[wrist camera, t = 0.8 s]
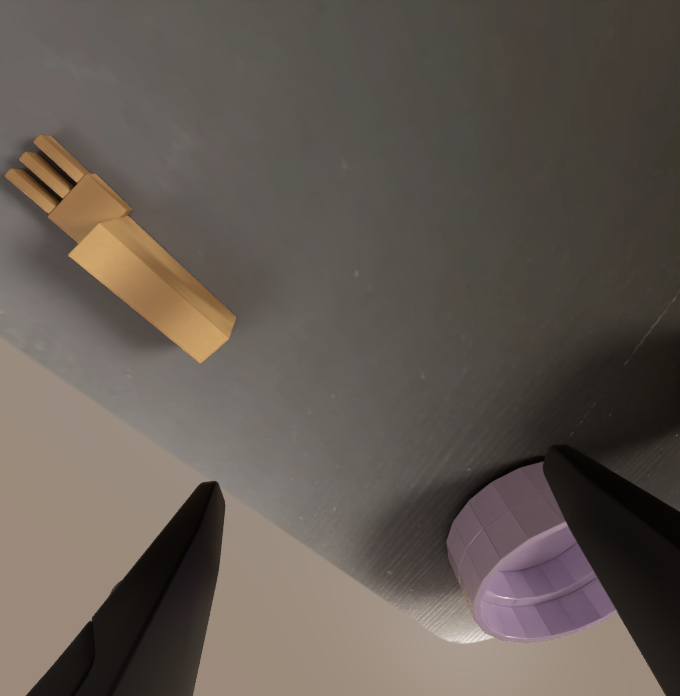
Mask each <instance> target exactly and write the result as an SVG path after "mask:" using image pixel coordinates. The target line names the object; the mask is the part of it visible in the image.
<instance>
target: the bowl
mask: <svg viewBox="0 0 680 696" xmlns="http://www.w3.org/2000/svg"><path fill="white" fill-rule="evenodd" d="M543 462H544V461H543ZM543 462H539V463H536V464H532V465H528V466H524V467H521V468H518V469H516V470H514V471H512V472H510V473H508V474H506V475H504V476H502V477H500V478H498V479H496V480H495V481H493V482H491V483H490V484H488V485H487V486H486V487H485V488H484V489H482V490H481V491H480V492H479V493H477V494H476V495H475V496H474V497H472V498H471V499H470V500H469V501H468V502H467V504H466V505H465V506H464V508H463V509H462V510H461V512H460V513H459V514H458V516H457V517H456V518H455V520H454V522H453V523H452V526H451V529H450V532H449V535H448V538H447V542H446V543H447V551H448V559H449V561H450V564H451V566H452V568H453V571H454V573H455V575H456V578H457V580H458V582H459V585H460V587H461V590H462V592H463V594H464V597H465V599H466V602H467V604H468V606H469V609H470V611H471V613H472V616H473V618H474V620H475V621H476V623H477V624H478V625H479V626H480V628H481V629H482V630H483V631H484V632H485V633H486V634H489V635H491V636H493V637H495V638H498V639H500V640H503V641H513V642H523V643H528V642H536V641H546V640H552V639H556V638H559V637H562V636H567V635H570V634H574V633H577V632H580V631H582V630H584V629H586V628H589V627H591V626H593V625H595V624H598V623H600V622H602V621H604V620H606V619H608V618H610V617H611V616H612V615H614V614H616V613H618V612H617V611H616V609H615V607H614V605H613V604H612V602H611V600H610V599H609V597H608V595H607V593H606V592H605V590H604V588H603V586H602V585H601V583H600V581H599V580H598V578H597V576H596V574H595V573H594V571H593V569H592V568H591V566H590V564H589V562H588V561H587V559H586V557H585V555H584V554H583V552H582V550H581V549H580V547H579V545H578V543H577V542H576V540H575V538H574V536H573V535H572V533H571V531H570V529H569V527H568V525H567V523H566V521H565V519H564V517H563V515H562V513H561V511H560V508H559V506H558V504H557V502H556V500H555V497H554V495H553V493H552V491H551V489H550V487H549V484H548V482H547V480H546V478H545V476H544V473H543Z"/></svg>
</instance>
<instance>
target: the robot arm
mask: <svg viewBox="0 0 680 696" xmlns="http://www.w3.org/2000/svg"><path fill="white" fill-rule="evenodd" d="M543 473H544V476H545V478H546V480H547V482H548V484H549V487H550V489H551V491H552V493H553V495H554V497H555V500H556V502H557V504H558V506H559V508H560V511H561V513H562V515H563V517H564V519H565V521H566V523H567V525H568V527H569V529H570V531H571V533H572V535H573V536H574V538H575V540H576V542H577V543H578V545H579V547H580V549H581V550H582V552H583V554H584V555H585V557H586V559H587V561H588V562H589V564H590V566H591V568H592V569H593V571H594V573H595V574H596V576H597V578H598V580H599V581H600V583H601V585H602V586H603V588H604V590H605V592H606V593H607V595H608V597H609V599H610V600H611V602H612V604H613V605H614V607H615V609H616V611H617V612H618V614H619V615H620V617H621V619H622V621H623V623H624V624H625V626H626V628H627V629H628V631H629V633H630V635H631V636H632V638H633V640H634V641H635V643H636V645H637V647H638V648H639V650H640V652H641V654H642V655H643V657H644V659H645V660H646V662H647V664H648V666H649V667H650V669H651V671H652V673H653V674H654V676H655V678H656V679H657V681H658V683H659V685H660V686H661V688H662V690H663V692H664V693H665V695H666V696H680V512H679V511H678V510H676V509H674V508H673V507H671V506H669V505H668V504H666V503H664V502H663V501H661V500H659V499H658V498H656V497H654V496H653V495H651V494H649V493H648V492H646V491H644V490H643V489H641V488H639V487H638V486H636V485H634V484H633V483H631V482H629V481H628V480H626V479H624V478H623V477H621V476H619V475H618V474H616V473H614V472H613V471H611V470H609V469H608V468H606V467H604V466H603V465H601V464H599V463H598V462H596V461H594V460H593V459H591V458H589V457H588V456H586V455H584V454H583V453H581V452H579V451H578V450H576V449H574V448H573V447H571V446H569V445H567V444H557V445H551V446H550V447H549V448H548V451H547V454H546V457H545V460H544V462H543ZM224 514H225V501H224V498H223V495H222V492H221V489H220V486H219V484H218V482H216V481H210V482H203V483H201V484H200V485H199V486H198V487H197V488H196V489H195V491H194V492H193V493H192V494H191V496H190V497H189V498H188V499H187V500H186V502H185V503H184V504H183V505H182V507H181V508H180V509H179V510H178V512H177V513H176V514H175V515H174V517H173V518H172V519H171V520H170V522H169V523H168V524H167V525H166V526H165V528H164V529H163V530H162V532H161V533H160V534H159V535H158V536H157V538H156V539H155V540H154V541H153V543H152V544H151V545H150V546H149V548H148V549H147V550H146V551H145V553H144V554H143V555H142V556H141V557H140V559H139V560H138V561H137V562H136V564H135V565H134V566H133V568H132V569H131V570H130V571H129V572H128V574H127V575H126V576H125V577H124V579H123V580H122V581H121V582H120V584H119V585H118V586H117V587H116V588H115V590H114V591H113V592H112V593H111V595H110V596H109V597H108V598H107V600H106V601H105V602H104V603H103V605H102V606H101V607H100V608H99V610H98V611H97V612H96V613H95V615H94V616H93V617H92V621H89V622H88V623H87V624H86V625H85V627H84V628H83V629H82V631H81V632H80V633H79V634H78V636H77V637H76V638H75V639H74V640H73V642H72V643H71V644H70V645H69V646H68V648H67V649H66V650H65V651H64V653H63V654H62V655H61V656H60V657H59V659H58V660H57V661H56V662H55V663H54V665H53V666H52V667H51V668H50V669H49V670H48V671H47V672H46V674H45V675H44V676H43V677H42V678H41V679H40V680H39V682H38V683H37V684H36V685H35V686H34V687H33V688H32V689H31V691H30V692H29V693H28V694H27V695H26V696H193V692H194V687H195V682H196V678H197V673H198V668H199V663H200V658H201V654H202V649H203V644H204V639H205V634H206V630H207V625H208V620H209V615H210V611H211V605H212V600H213V596H214V591H215V587H216V582H217V576H218V571H219V563H220V555H221V545H222V535H223V525H224Z"/></svg>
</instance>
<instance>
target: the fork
mask: <svg viewBox="0 0 680 696" xmlns="http://www.w3.org/2000/svg"><path fill="white" fill-rule="evenodd" d="M33 143H34V144H35V145H36V146H37V147H39V148H40V149H41V150H42V151H43V152H44V153H45V154H46V155H47V156H48V157H49V158H51V159H52V160H53V161H54V162H55V163H56V164H57V165H58V166H59V167H60V168H61V169H63V170H64V171H65V172H66V173H67V174H68V175H69V176H70V177H71V178H72V179H73V180H75V181H76V182H77V185H76V186H75V187H74V186H73V185H72V184H70V183H69V182H68V181H67V180H66V179H65V178H64V177H63V176H62V175H61V174H59V173H58V172H57V171H56V170H55V169H54V168H53V167H52V166H51V165H50V164H49V163H47V162H46V161H45V160H44V159H43V158H42V157H41V156H40V155H39V154H38V153H36V152H24V153H23V154H22V156H21V157H20V158H19V160H20V161H21V162H22V163H23V164H24V165H25V166H26V167H27V168H29V169H30V170H31V171H32V172H33V173H34V174H35V175H37V176H38V177H39V178H40V179H41V180H42V181H43V182H44V183H46V184H47V185H48V186H49V187H50V188H51V189H52V190H53V191H55V192H56V193H57V194H58V195H59V196H60V197H61V198H64V199H63V200H62V201H61V202H60V201H59V200H58V199H56V198H55V197H54V196H53V195H52V194H51V193H50V192H49V191H47V190H46V189H45V188H44V187H43V186H42V185H41V184H39V183H38V182H37V181H36V180H35V179H34V178H33V177H31V176H30V175H29V174H28V173H27V172H26V171H25V170H23V169H15V168H11V169H10V170H9V171H8V172H7V173H6V174H5V177H6V178H7V179H8V180H9V181H10V182H11V183H13V184H14V185H15V186H16V187H17V188H19V189H20V190H21V191H22V192H23V193H24V194H26V195H27V196H28V197H29V198H30V199H32V200H33V201H34V202H35V203H36V204H37V205H39V206H40V207H41V208H42V209H43V210H44V211H46V212H47V213H48V214H49V215H48V218H49V219H50V220H51V221H53V222H54V223H55V224H56V225H57V226H59V227H60V228H61V229H62V230H63V231H64V232H66V233H67V234H68V235H69V236H70V237H72V238H73V239H74V240H75V241H76V242H77V243H79V244H78V245H77V246H76V247H75V248H74V249H73V250H72V251H71V252H70V253H69V254H68V256H69V257H71V258H72V259H73V260H74V261H76V262H77V263H78V264H79V265H80V266H82V267H83V268H84V269H85V270H87V271H88V272H89V273H90V274H91V275H93V276H94V277H95V278H96V279H98V280H99V281H100V282H101V283H102V284H104V285H105V286H106V287H107V288H108V289H110V290H111V291H112V292H113V293H115V294H116V295H117V296H118V297H119V298H121V299H122V300H123V301H124V302H126V303H127V304H128V305H129V306H130V307H132V308H133V309H134V310H135V311H137V312H138V313H139V314H140V315H141V316H143V317H144V318H145V319H146V320H148V321H149V322H150V323H151V324H152V325H154V326H155V327H156V328H157V329H159V330H160V331H161V332H162V333H163V334H165V335H166V336H167V337H168V338H170V339H171V340H172V341H173V342H174V343H176V344H177V345H178V346H179V347H181V348H182V349H183V350H184V351H185V352H187V353H188V354H189V355H190V356H192V357H193V358H194V359H195V360H196V361H198V362H199V363H202V362H203V361H204V360H205V359H207V358H208V357H209V356H210V355H211V354H212V353H213V352H215V351H216V350H217V349H218V348H219V347H220V346H222V345H223V344H224V343H225V342H226V341H227V340H228V339H229V337H230V334H231V331H232V328H233V325H234V323H235V320H236V316H235V315H233V314H232V313H231V312H230V311H229V310H228V309H227V308H226V307H225V306H224V305H223V304H222V303H221V302H220V301H219V300H217V299H216V298H215V297H214V296H213V295H212V294H211V293H210V292H209V291H208V290H207V289H206V288H205V287H204V286H202V285H201V284H200V283H199V282H198V281H197V280H196V279H195V278H194V277H193V276H192V275H191V274H190V273H189V272H188V271H186V270H185V269H184V268H183V267H182V266H181V265H180V264H179V263H178V262H177V261H176V260H175V259H174V258H173V257H172V256H170V255H169V254H168V253H167V252H166V251H165V250H164V249H163V248H162V247H161V246H160V245H159V244H158V243H157V242H156V241H154V240H153V239H152V238H151V237H150V236H149V235H148V234H147V233H146V232H145V231H144V230H143V229H142V228H141V227H140V226H138V225H137V224H136V223H135V222H134V221H133V220H132V219H131V218H130V217H129V216H127V215H128V214H129V213H130V212H131V211H132V208H131V207H130V206H129V205H128V204H127V203H126V202H125V201H124V200H122V199H121V198H120V197H119V196H118V195H117V194H116V193H115V192H114V191H113V190H112V189H111V188H110V187H109V186H108V185H107V184H106V183H105V182H104V181H103V180H101V179H100V178H99V177H98V176H97V175H96V174H90V173H89V172H88V171H87V170H86V169H85V168H84V167H83V166H82V165H81V164H80V163H79V162H78V161H77V160H76V159H75V158H74V157H73V156H71V155H70V154H69V153H68V152H67V151H66V150H65V149H64V148H63V147H62V146H61V145H60V144H59V143H58V142H57V141H56V140H55V139H53V138H52V137H51V136H48V135H42V134H40V135H39V136H38V137H37V138H36V139H35V140H34V142H33Z"/></svg>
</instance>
